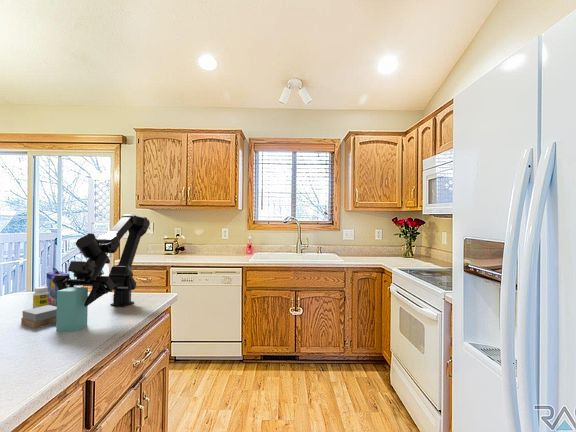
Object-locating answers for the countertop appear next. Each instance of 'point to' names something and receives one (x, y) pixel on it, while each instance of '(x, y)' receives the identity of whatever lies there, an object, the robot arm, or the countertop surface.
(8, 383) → the countertop surface
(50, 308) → the tower top
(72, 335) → the countertop surface
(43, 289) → the supplement bottle
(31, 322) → the tower base
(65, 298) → the column
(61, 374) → the countertop surface
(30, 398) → the countertop surface
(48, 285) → the ink cartridge box
